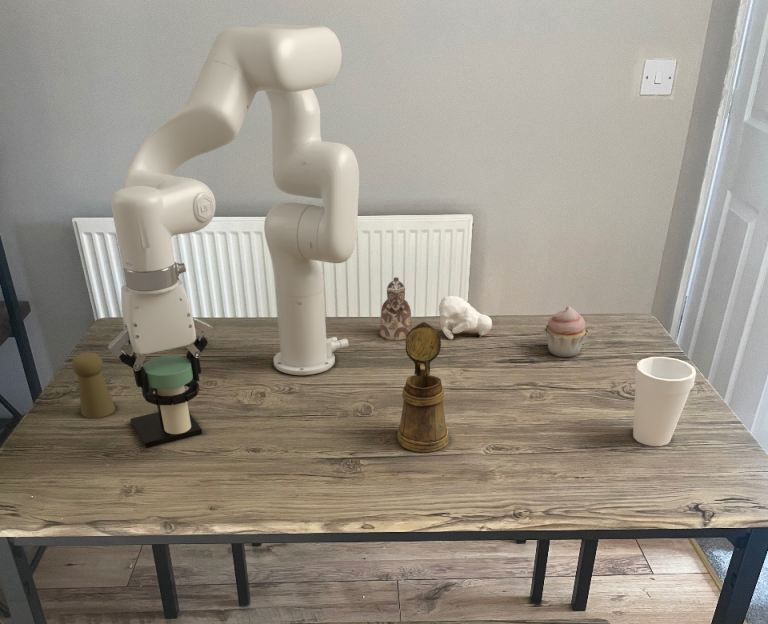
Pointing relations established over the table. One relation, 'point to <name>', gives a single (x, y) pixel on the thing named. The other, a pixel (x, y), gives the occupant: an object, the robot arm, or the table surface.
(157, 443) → the holder
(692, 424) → the table surface
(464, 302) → the white animal statue
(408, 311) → the figurine
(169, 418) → the canister
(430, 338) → the wooden mug
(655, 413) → the foam cup
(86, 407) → the tan pawn
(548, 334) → the cupcake
